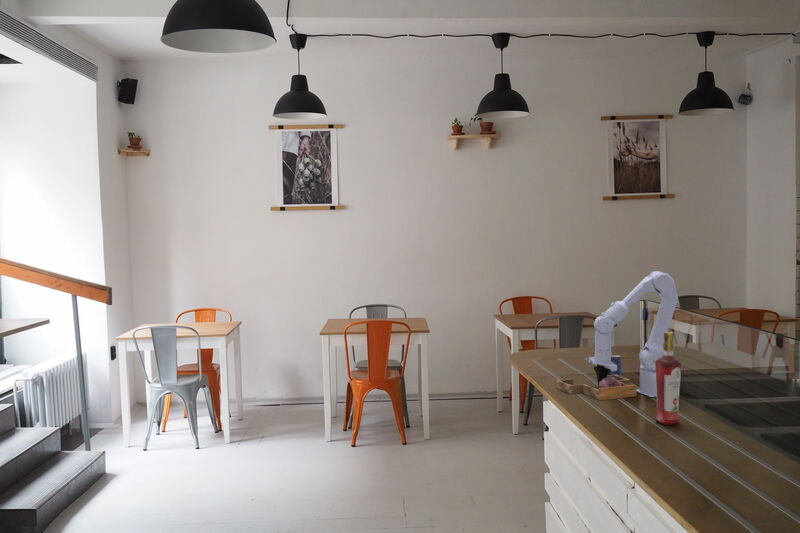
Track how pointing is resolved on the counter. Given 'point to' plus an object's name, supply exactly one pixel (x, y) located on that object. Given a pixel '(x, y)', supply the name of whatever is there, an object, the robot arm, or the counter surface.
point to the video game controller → (609, 382)
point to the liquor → (668, 383)
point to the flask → (616, 361)
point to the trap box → (600, 389)
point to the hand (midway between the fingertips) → (602, 385)
